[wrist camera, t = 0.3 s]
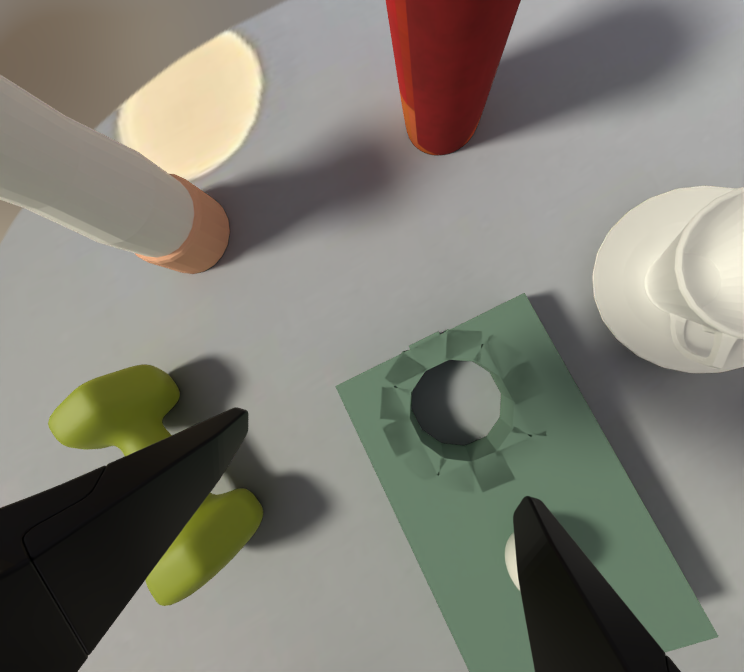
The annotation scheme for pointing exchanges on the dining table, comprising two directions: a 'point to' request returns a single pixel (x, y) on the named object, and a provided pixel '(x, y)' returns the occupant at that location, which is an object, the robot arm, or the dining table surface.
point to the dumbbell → (136, 431)
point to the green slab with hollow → (513, 489)
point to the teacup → (677, 279)
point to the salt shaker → (103, 187)
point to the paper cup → (447, 65)
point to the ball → (511, 560)
